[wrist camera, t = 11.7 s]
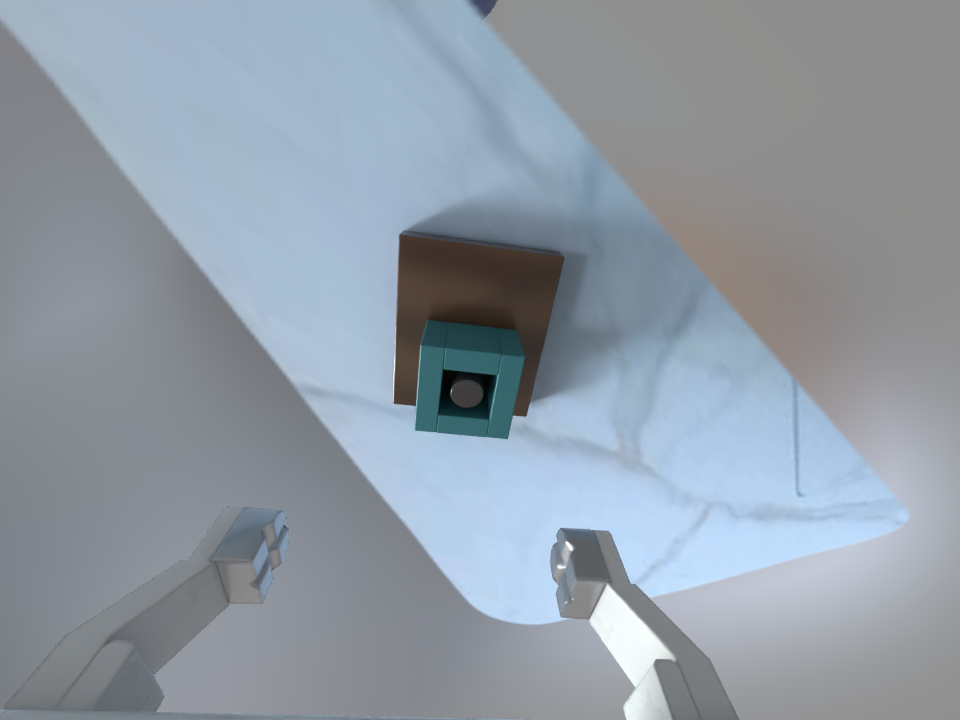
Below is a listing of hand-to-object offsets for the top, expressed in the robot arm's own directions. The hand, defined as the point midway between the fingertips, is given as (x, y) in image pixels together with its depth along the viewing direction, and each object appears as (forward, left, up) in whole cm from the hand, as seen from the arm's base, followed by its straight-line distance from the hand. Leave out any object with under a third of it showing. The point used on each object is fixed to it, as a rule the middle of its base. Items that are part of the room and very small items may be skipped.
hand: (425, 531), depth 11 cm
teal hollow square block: (+2, +2, -15) cm, 15 cm away
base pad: (0, +2, -17) cm, 17 cm away
